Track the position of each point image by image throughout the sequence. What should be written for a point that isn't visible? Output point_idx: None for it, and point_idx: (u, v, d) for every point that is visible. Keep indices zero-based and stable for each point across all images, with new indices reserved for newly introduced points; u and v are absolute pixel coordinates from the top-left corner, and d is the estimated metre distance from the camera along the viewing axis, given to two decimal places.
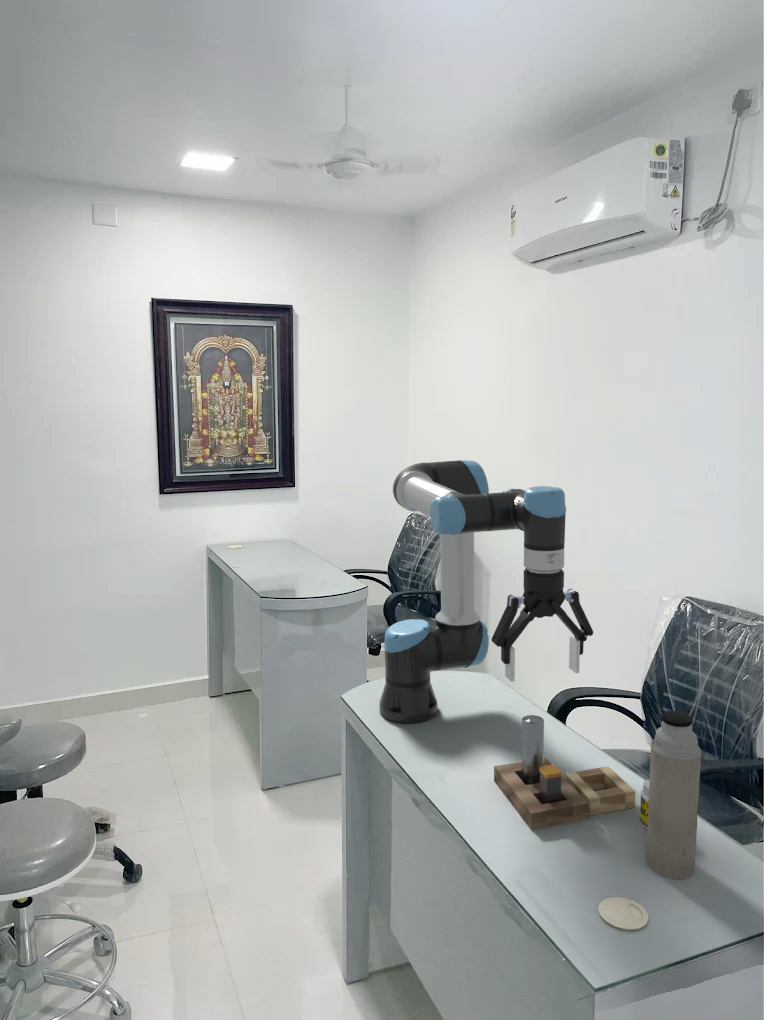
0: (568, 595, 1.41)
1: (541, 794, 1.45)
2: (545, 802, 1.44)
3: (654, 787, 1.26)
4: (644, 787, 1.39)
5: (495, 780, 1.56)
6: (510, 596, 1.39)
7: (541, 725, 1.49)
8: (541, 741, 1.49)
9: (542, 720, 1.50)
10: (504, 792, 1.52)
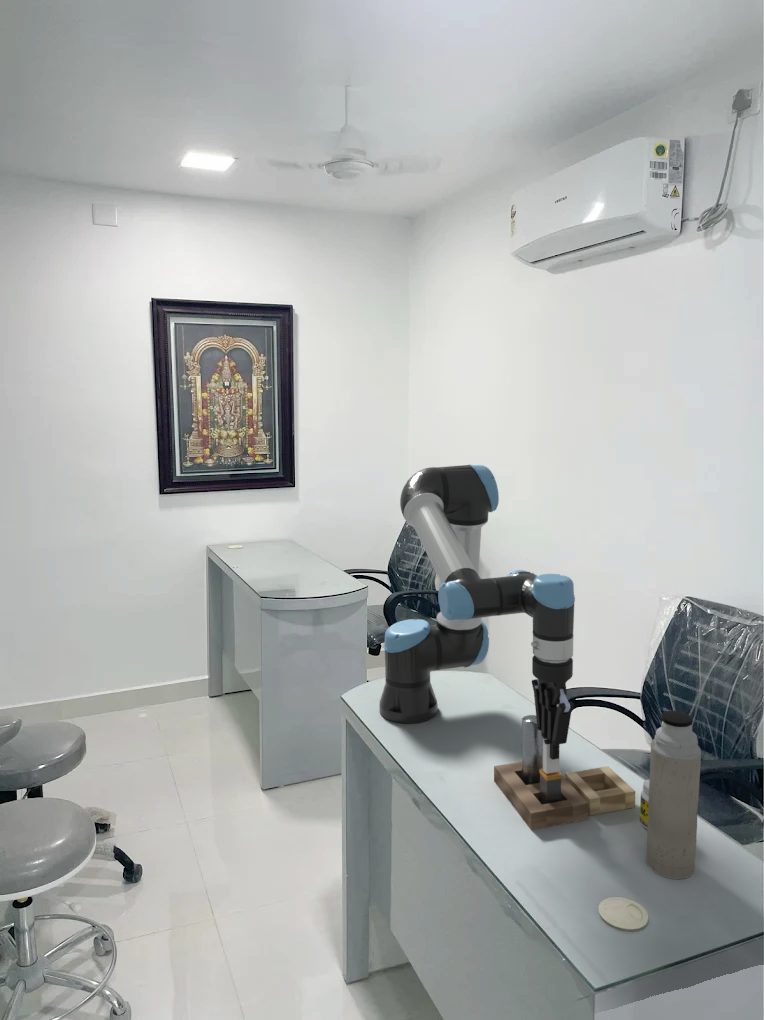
0: (561, 700, 1.36)
1: (541, 796, 1.45)
2: None
3: (654, 787, 1.26)
4: (644, 787, 1.39)
5: (495, 780, 1.56)
6: None
7: None
8: (541, 741, 1.49)
9: None
10: (504, 792, 1.52)
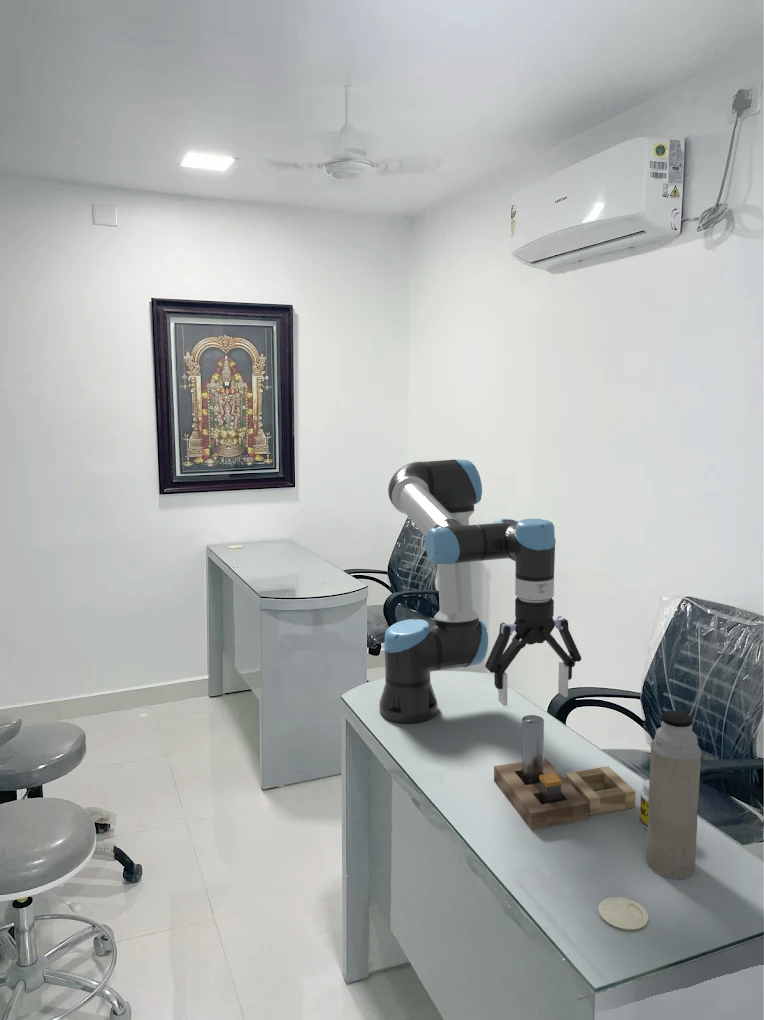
0: (558, 622, 1.47)
1: (541, 802, 1.45)
2: None
3: (654, 787, 1.26)
4: (644, 787, 1.39)
5: (495, 780, 1.56)
6: (502, 624, 1.45)
7: (541, 724, 1.49)
8: (541, 741, 1.49)
9: (542, 720, 1.50)
10: (504, 792, 1.52)
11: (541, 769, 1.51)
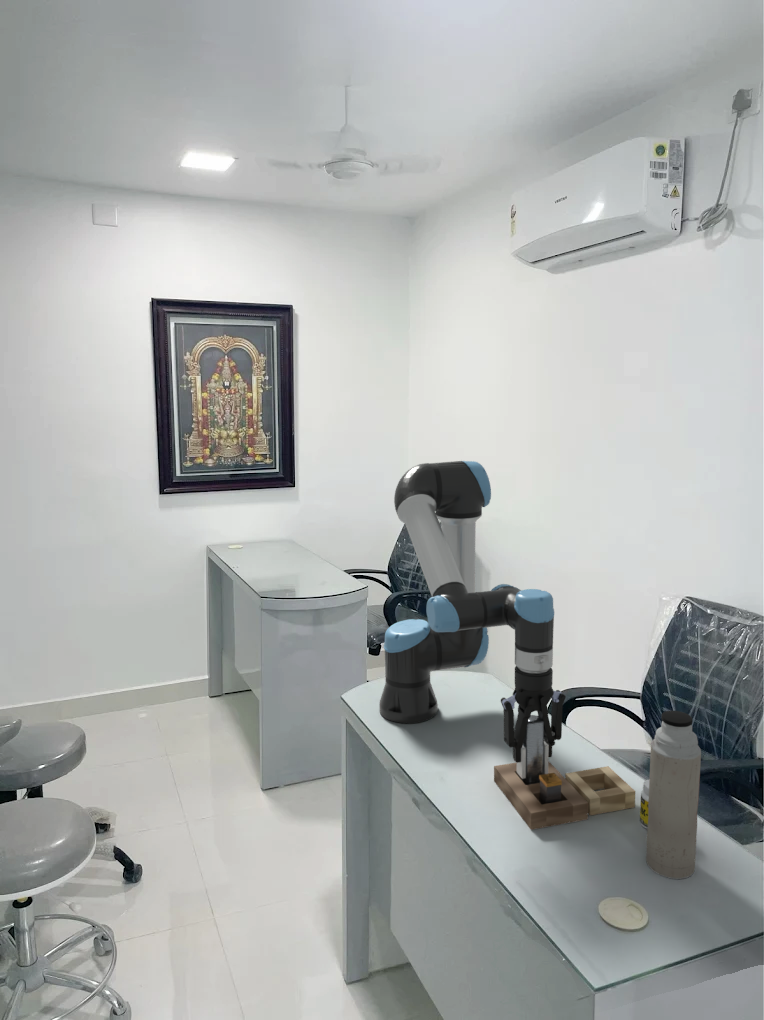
0: (556, 695, 1.50)
1: (541, 802, 1.45)
2: None
3: (653, 787, 1.26)
4: (644, 787, 1.39)
5: (495, 780, 1.56)
6: (502, 700, 1.48)
7: (542, 725, 1.49)
8: (541, 742, 1.49)
9: (542, 720, 1.50)
10: (504, 792, 1.52)
11: (541, 769, 1.50)
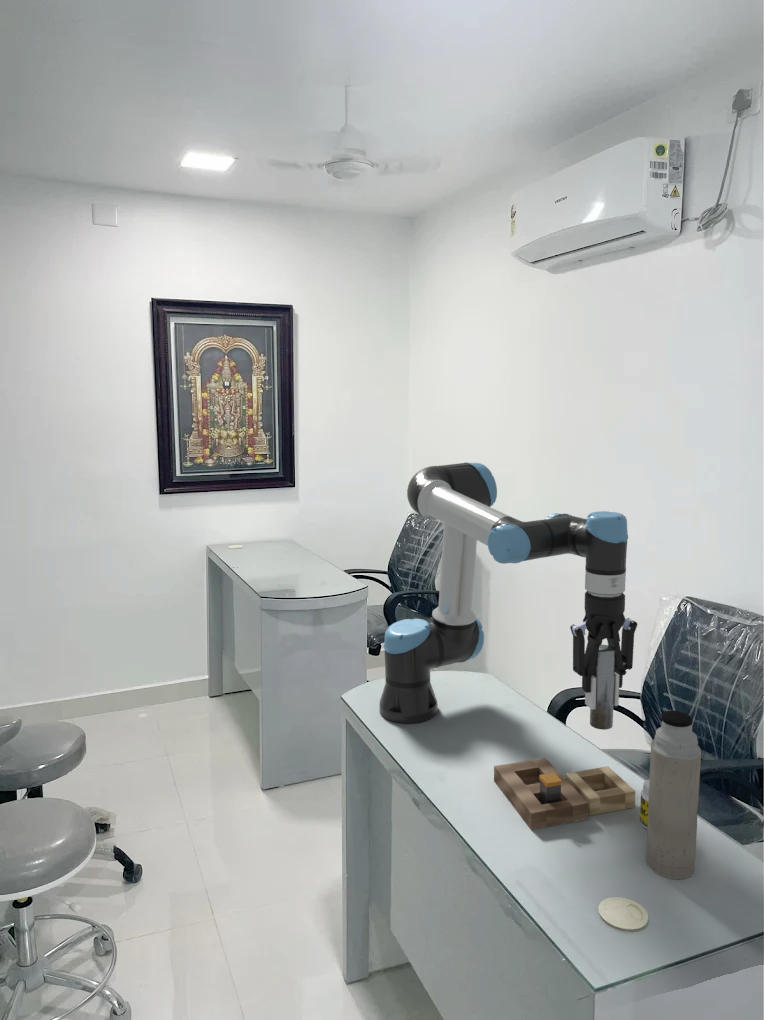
0: (627, 622, 1.44)
1: (541, 802, 1.45)
2: None
3: (654, 787, 1.26)
4: (644, 787, 1.39)
5: (495, 780, 1.56)
6: (572, 627, 1.42)
7: (613, 653, 1.43)
8: (612, 671, 1.43)
9: (613, 649, 1.44)
10: (504, 792, 1.52)
11: (612, 700, 1.45)
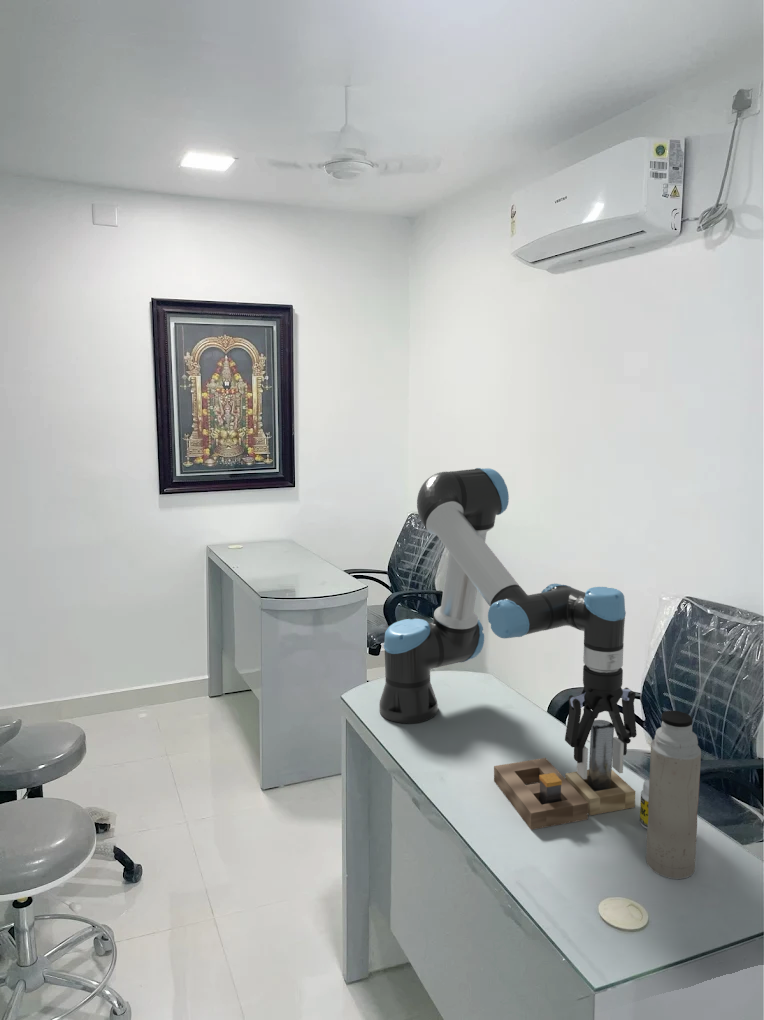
0: (625, 693, 1.47)
1: (541, 802, 1.45)
2: None
3: (654, 787, 1.26)
4: (644, 787, 1.39)
5: (495, 780, 1.56)
6: (570, 698, 1.45)
7: (612, 730, 1.46)
8: (611, 747, 1.46)
9: (612, 725, 1.47)
10: (504, 792, 1.52)
11: (610, 775, 1.48)
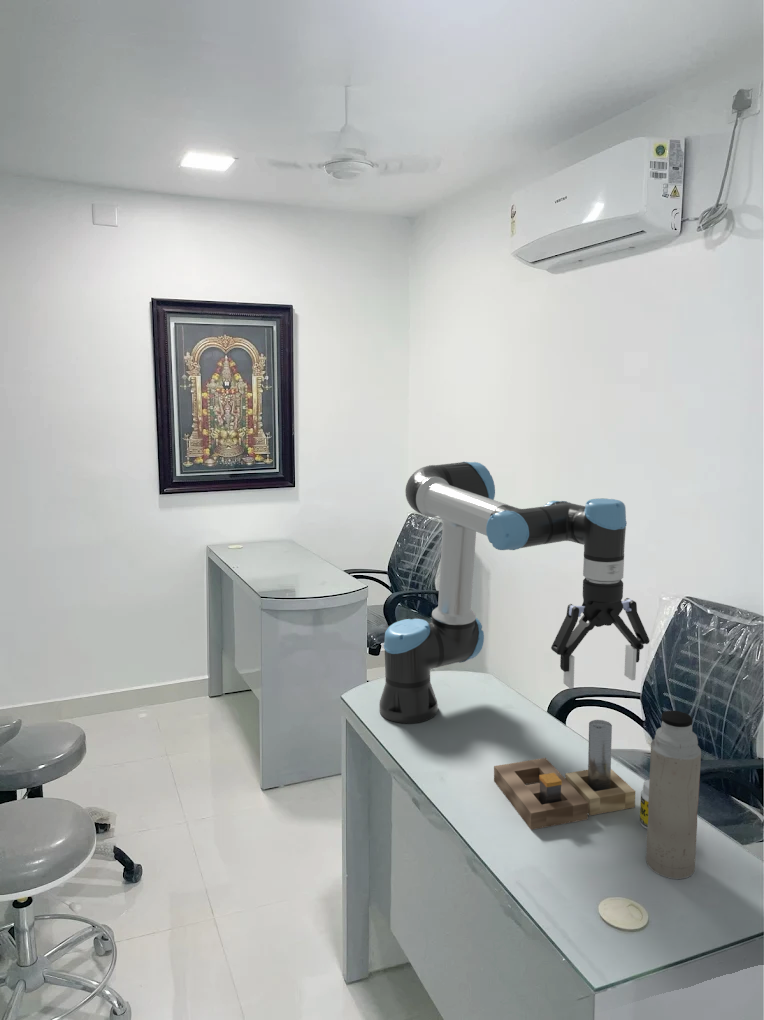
0: (626, 604, 1.44)
1: (541, 802, 1.45)
2: None
3: (654, 787, 1.26)
4: (644, 787, 1.39)
5: (495, 780, 1.56)
6: (570, 605, 1.42)
7: (610, 730, 1.46)
8: (609, 747, 1.46)
9: (610, 725, 1.47)
10: (504, 792, 1.52)
11: (609, 775, 1.48)
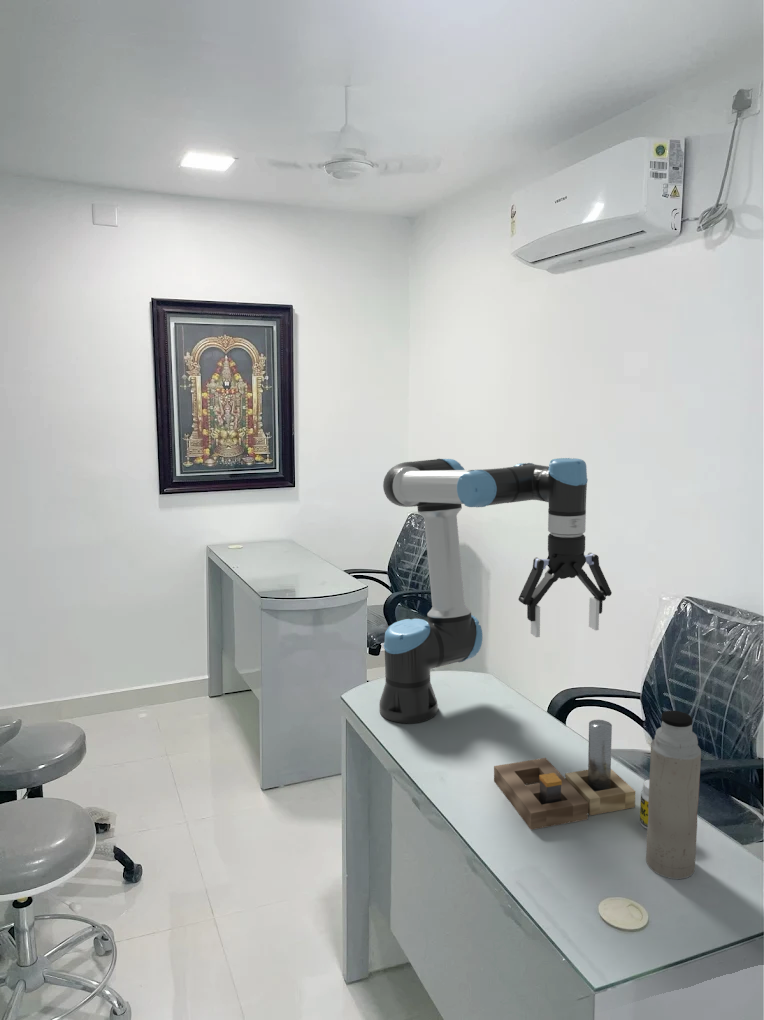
0: (589, 558, 1.54)
1: (541, 802, 1.45)
2: None
3: (654, 787, 1.26)
4: (644, 787, 1.39)
5: (495, 780, 1.56)
6: (536, 559, 1.52)
7: (610, 729, 1.46)
8: (609, 747, 1.46)
9: (610, 725, 1.47)
10: (504, 792, 1.52)
11: (609, 775, 1.48)
